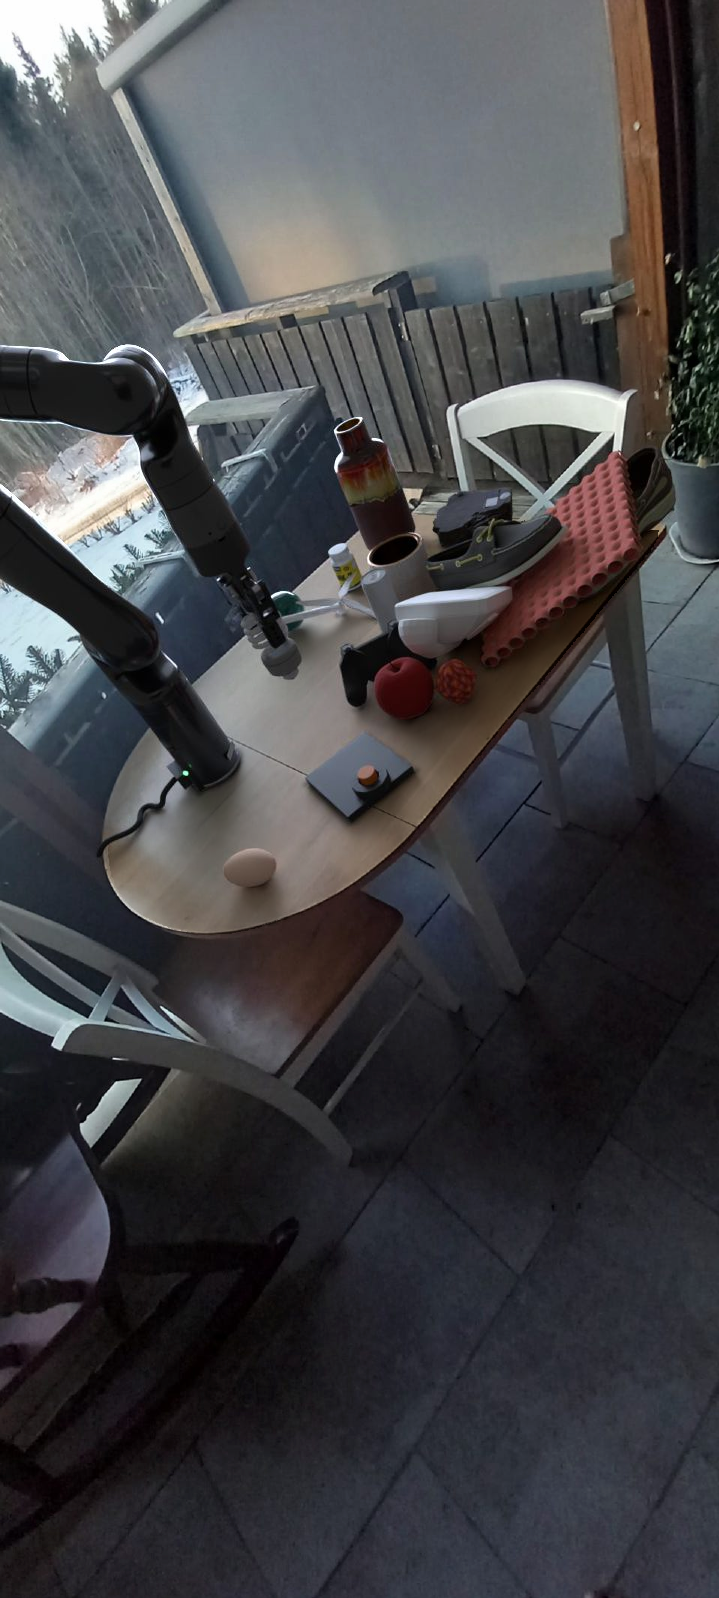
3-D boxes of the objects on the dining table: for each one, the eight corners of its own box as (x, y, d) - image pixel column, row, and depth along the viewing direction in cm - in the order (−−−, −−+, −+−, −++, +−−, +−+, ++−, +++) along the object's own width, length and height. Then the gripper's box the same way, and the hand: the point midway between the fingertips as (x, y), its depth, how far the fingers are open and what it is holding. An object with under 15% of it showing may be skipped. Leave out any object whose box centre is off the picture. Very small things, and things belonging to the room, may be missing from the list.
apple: (394, 737, 115) (371, 688, 108) (378, 706, 122) (356, 658, 115) (448, 710, 114) (429, 660, 108) (430, 681, 121) (410, 631, 114)
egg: (265, 880, 99) (214, 889, 103) (286, 883, 104) (237, 892, 107) (262, 842, 101) (212, 852, 104) (283, 846, 105) (234, 856, 108)
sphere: (319, 615, 149) (302, 581, 143) (297, 641, 145) (279, 607, 140) (289, 615, 154) (272, 582, 148) (268, 640, 150) (249, 607, 145)
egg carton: (644, 553, 99) (634, 543, 98) (490, 670, 117) (481, 662, 117) (625, 455, 117) (617, 447, 116) (494, 570, 135) (487, 563, 134)
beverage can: (409, 621, 135) (387, 564, 127) (408, 637, 132) (385, 579, 124) (384, 628, 137) (361, 572, 129) (383, 644, 134) (358, 587, 126)
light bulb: (292, 662, 110) (254, 594, 102) (319, 668, 106) (281, 598, 98) (268, 688, 108) (227, 621, 100) (294, 694, 104) (254, 625, 96)
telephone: (434, 588, 129) (441, 642, 132) (377, 609, 114) (385, 670, 117) (522, 580, 120) (526, 638, 124) (472, 601, 105) (479, 667, 108)
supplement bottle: (339, 593, 152) (323, 557, 147) (346, 579, 155) (330, 544, 149) (360, 589, 150) (344, 553, 144) (366, 575, 153) (351, 539, 147)
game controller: (434, 663, 128) (409, 609, 126) (441, 665, 122) (415, 608, 119) (350, 706, 129) (323, 653, 127) (352, 711, 122) (324, 655, 120)
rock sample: (462, 558, 143) (455, 535, 140) (419, 540, 155) (412, 518, 151) (533, 510, 145) (528, 486, 142) (486, 496, 157) (480, 473, 154)
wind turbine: (256, 610, 147) (355, 586, 151) (279, 656, 138) (383, 629, 143) (254, 594, 144) (355, 570, 148) (277, 640, 135) (383, 613, 140)
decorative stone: (485, 709, 111) (470, 668, 106) (442, 720, 114) (425, 680, 108) (484, 683, 116) (469, 642, 111) (442, 694, 118) (426, 654, 113)
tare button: (381, 777, 106) (377, 770, 105) (367, 788, 106) (363, 781, 105) (371, 770, 108) (367, 762, 107) (357, 780, 107) (353, 773, 106)
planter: (431, 606, 136) (414, 561, 129) (377, 614, 141) (359, 571, 134) (444, 572, 142) (429, 526, 136) (392, 581, 147) (375, 538, 141)
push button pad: (418, 774, 108) (411, 760, 106) (353, 825, 105) (345, 812, 103) (367, 737, 118) (360, 723, 116) (308, 783, 115) (300, 770, 113)
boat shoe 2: (580, 615, 118) (568, 548, 110) (519, 595, 127) (504, 532, 119) (711, 505, 125) (709, 434, 117) (645, 494, 134) (638, 427, 126)
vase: (424, 548, 151) (380, 420, 134) (374, 570, 153) (323, 447, 135) (415, 526, 159) (371, 403, 142) (367, 547, 161) (318, 428, 144)
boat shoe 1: (558, 555, 108) (526, 504, 106) (429, 623, 131) (399, 583, 128) (588, 518, 114) (558, 469, 112) (459, 590, 137) (431, 551, 134)
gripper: (162, 533, 95) (226, 638, 106) (204, 557, 85) (270, 671, 96) (209, 501, 96) (268, 608, 108) (256, 521, 86) (316, 637, 97)
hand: (269, 637), depth 102 cm, fingers closed on light bulb, 5 cm apart
